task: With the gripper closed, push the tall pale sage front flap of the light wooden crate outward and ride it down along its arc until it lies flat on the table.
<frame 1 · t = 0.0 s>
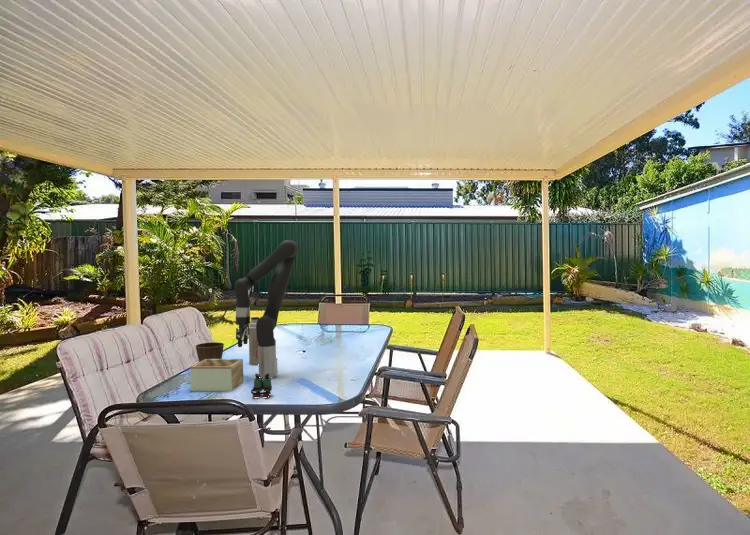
hand: (242, 345, 271), 17 cm above the table, tool pointing down, fingers open, 8 cm apart
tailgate: (211, 378, 246), point 6 cm above the table, hinge at 0.0°
crate: (218, 386, 255), on the table
binoculars: (262, 397, 235), on the table
plant pot: (210, 373, 282), on the table
thermos bottle: (256, 364, 302), on the table
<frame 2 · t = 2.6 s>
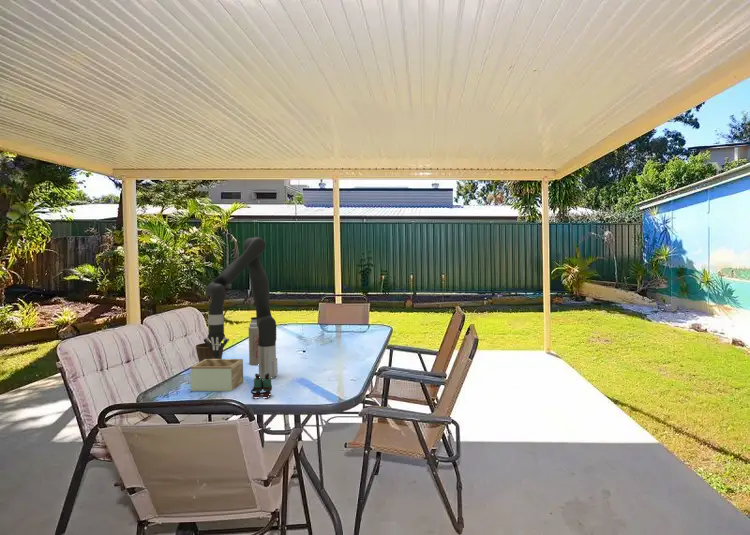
hand: (216, 357, 253), 15 cm above the table, tool pointing down, fingers closed
nothing on the table moved.
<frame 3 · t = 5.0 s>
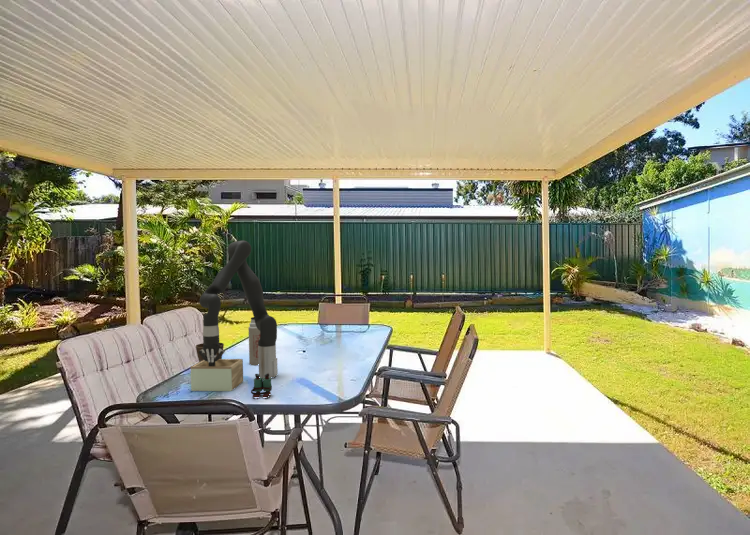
hand: (212, 369, 247), 10 cm above the table, tool pointing down, fingers closed
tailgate: (211, 378, 246), point 6 cm above the table, hinge at 0.0°, touching gripper
everything else where it was.
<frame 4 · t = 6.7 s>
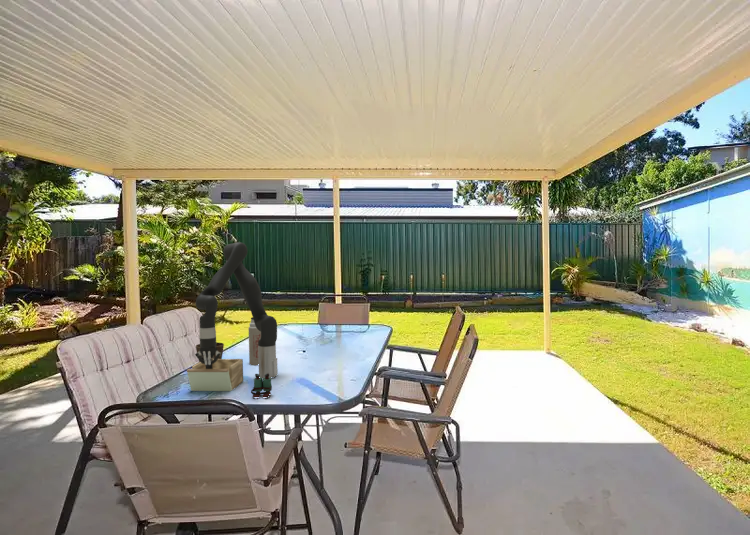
hand: (209, 372, 244), 10 cm above the table, tool pointing down, fingers closed
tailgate: (209, 380, 244), point 6 cm above the table, hinge at 19.9°, touching gripper
everything else where it was.
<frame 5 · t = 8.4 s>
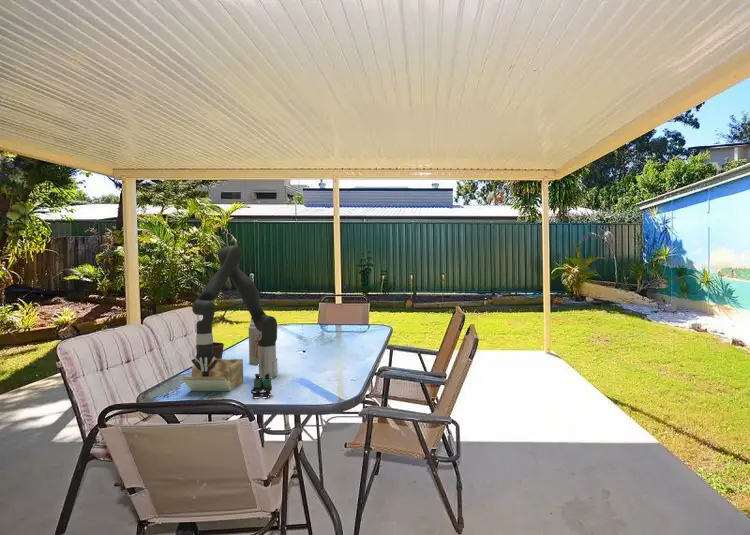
hand: (205, 378, 240), 8 cm above the table, tool pointing down, fingers closed
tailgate: (207, 383, 241), point 5 cm above the table, hinge at 46.6°, touching gripper
everything else where it was.
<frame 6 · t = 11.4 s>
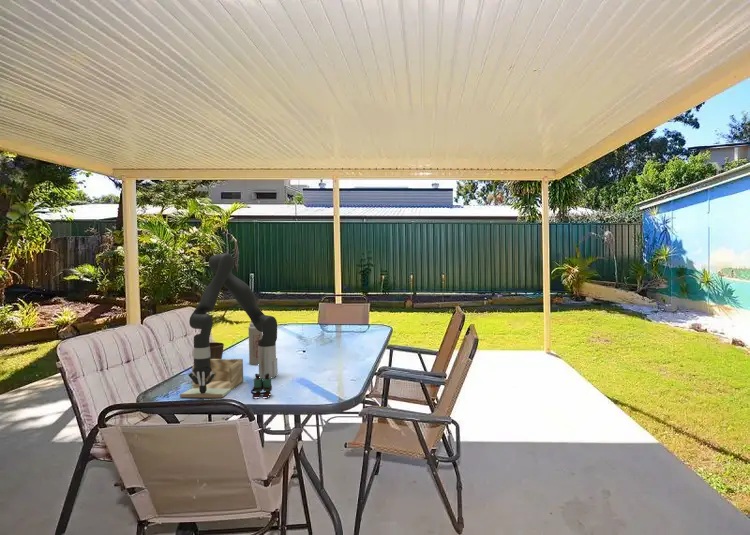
hand: (203, 393, 236), 2 cm above the table, tool pointing down, fingers closed
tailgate: (206, 392, 239), point 1 cm above the table, hinge at 87.6°, touching gripper
everything else where it was.
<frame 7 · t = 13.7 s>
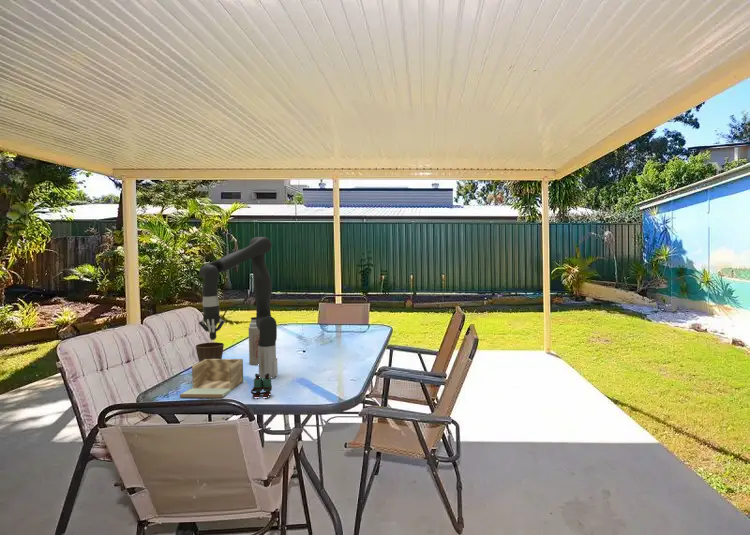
hand: (213, 339, 251), 24 cm above the table, tool pointing down, fingers closed
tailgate: (206, 392, 239), point 1 cm above the table, hinge at 87.7°
everything else where it was.
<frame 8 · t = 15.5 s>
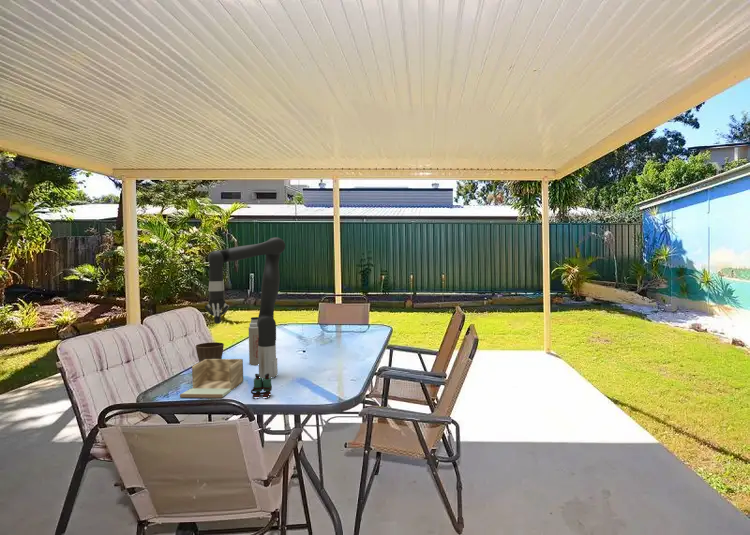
hand: (217, 323, 260), 31 cm above the table, tool pointing down, fingers closed
nothing on the table moved.
at the end: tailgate at +88° (first picture: +0°); the gripper is holding nothing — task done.
